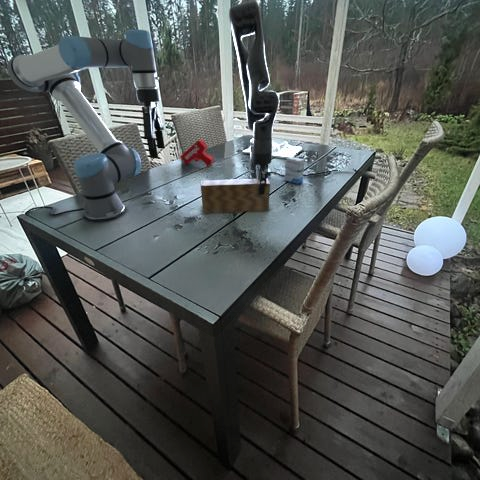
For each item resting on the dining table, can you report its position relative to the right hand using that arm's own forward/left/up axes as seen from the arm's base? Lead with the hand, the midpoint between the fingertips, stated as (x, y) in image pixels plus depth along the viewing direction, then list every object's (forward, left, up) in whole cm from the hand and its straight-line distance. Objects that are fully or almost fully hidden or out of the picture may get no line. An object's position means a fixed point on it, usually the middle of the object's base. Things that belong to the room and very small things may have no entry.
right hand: (260, 191), depth 113 cm
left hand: (+39, 0, +17) cm, 43 cm away
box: (+11, 0, -8) cm, 13 cm away
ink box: (-22, -30, -8) cm, 38 cm away
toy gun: (+31, -64, -8) cm, 71 cm away
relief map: (-21, -90, -8) cm, 93 cm away
